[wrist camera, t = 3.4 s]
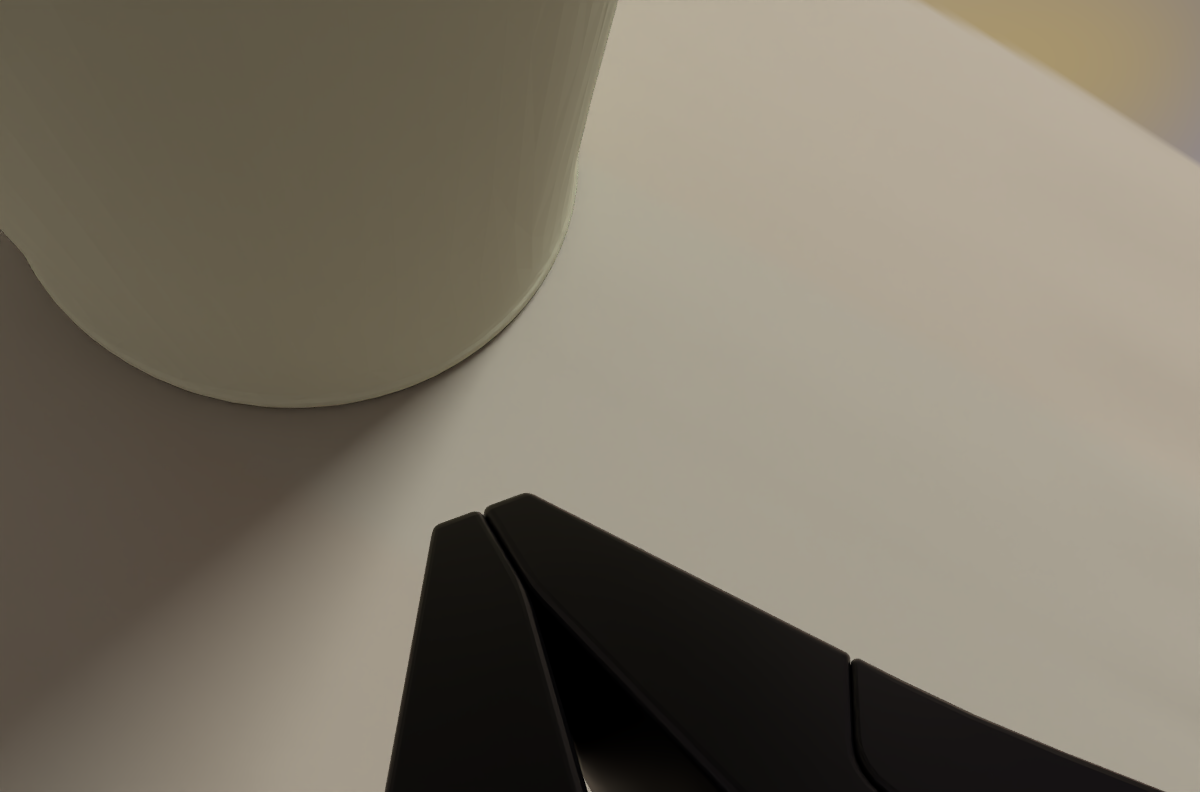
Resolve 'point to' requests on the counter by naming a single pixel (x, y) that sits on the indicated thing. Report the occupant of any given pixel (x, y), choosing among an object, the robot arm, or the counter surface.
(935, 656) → the counter surface
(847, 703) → the robot arm
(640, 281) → the counter surface
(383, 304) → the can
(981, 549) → the counter surface
